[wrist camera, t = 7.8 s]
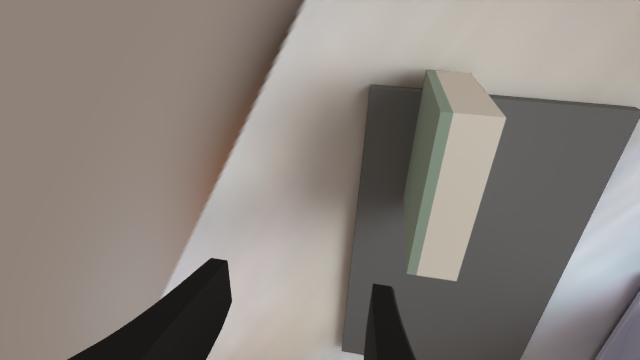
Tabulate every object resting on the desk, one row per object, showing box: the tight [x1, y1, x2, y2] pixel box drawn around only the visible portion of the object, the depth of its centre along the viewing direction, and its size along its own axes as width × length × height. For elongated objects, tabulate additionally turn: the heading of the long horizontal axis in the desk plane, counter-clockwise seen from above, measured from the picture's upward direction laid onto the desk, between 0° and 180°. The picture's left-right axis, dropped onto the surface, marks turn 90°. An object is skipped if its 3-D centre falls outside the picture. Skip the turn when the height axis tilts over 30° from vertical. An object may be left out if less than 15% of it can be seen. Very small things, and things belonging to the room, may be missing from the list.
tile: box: [403, 70, 506, 281], centre depth 16 cm, size 7×2×6 cm, turn 177°
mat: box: [342, 85, 640, 360], centre depth 22 cm, size 20×12×1 cm, turn 177°
